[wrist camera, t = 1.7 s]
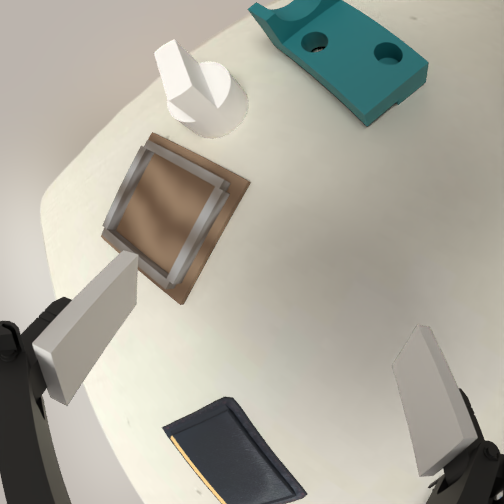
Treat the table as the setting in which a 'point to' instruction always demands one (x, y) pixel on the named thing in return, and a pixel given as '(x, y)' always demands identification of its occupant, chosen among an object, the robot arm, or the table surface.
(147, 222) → the plate
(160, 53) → the cylinder with rectangular tab
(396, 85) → the teal l-shaped bracket
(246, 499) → the wallet
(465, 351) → the table surface
